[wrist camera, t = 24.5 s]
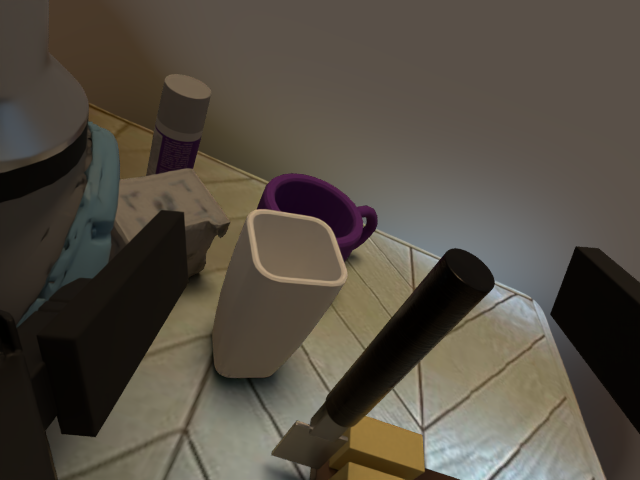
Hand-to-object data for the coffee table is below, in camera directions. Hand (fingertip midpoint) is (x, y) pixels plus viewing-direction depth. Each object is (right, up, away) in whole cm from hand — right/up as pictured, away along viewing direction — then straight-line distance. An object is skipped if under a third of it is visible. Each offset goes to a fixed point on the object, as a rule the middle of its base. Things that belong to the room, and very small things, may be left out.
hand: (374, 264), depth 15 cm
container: (-21, +5, +37) cm, 43 cm away
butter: (+2, -19, +20) cm, 28 cm away
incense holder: (-19, -3, +29) cm, 35 cm away
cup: (-9, -10, +26) cm, 30 cm away
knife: (-4, -16, +19) cm, 26 cm away
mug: (-4, -2, +39) cm, 39 cm away
